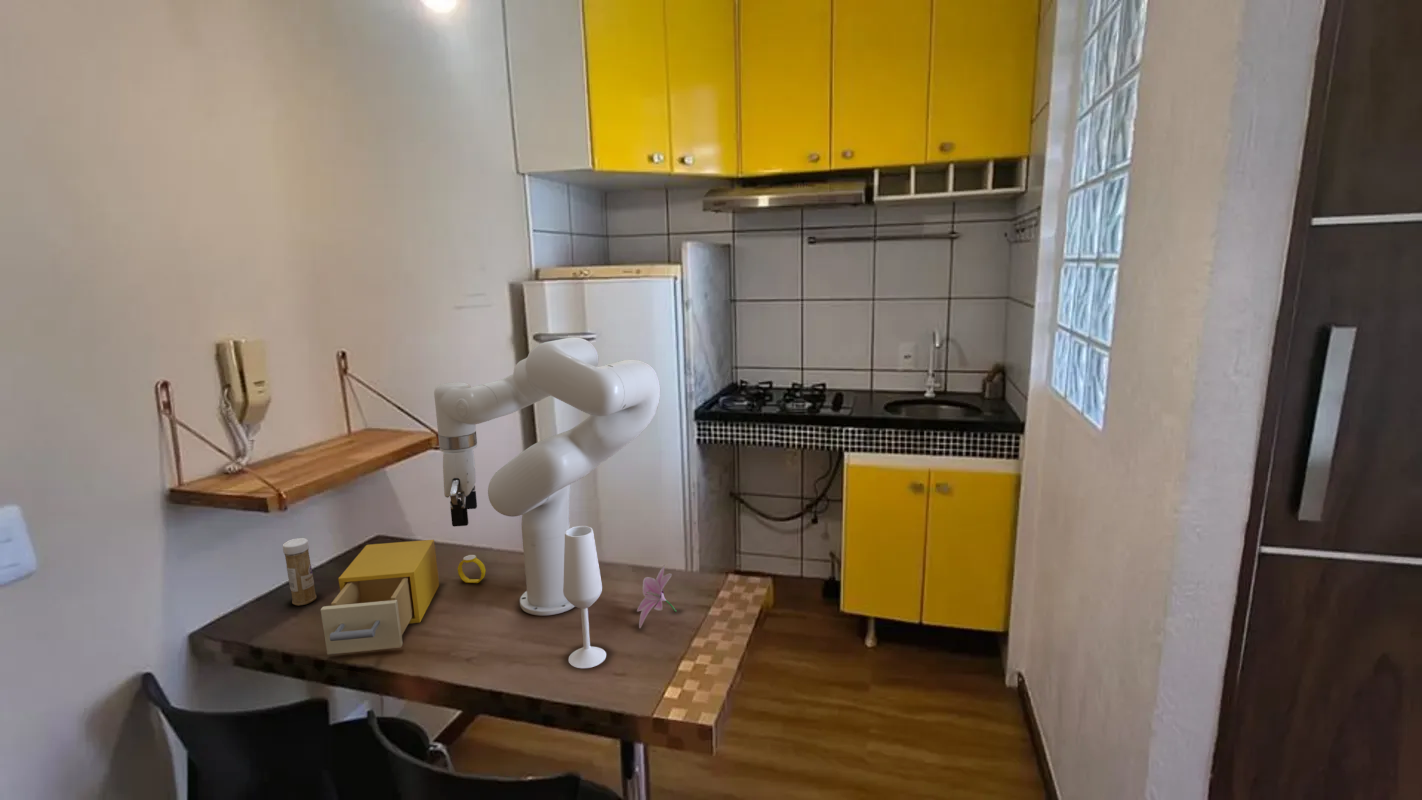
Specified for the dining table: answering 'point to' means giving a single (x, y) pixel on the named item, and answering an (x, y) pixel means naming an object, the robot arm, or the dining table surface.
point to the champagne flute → (582, 588)
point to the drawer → (368, 615)
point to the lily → (653, 594)
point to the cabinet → (399, 569)
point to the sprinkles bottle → (299, 571)
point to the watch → (467, 560)
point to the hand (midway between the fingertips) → (465, 516)
